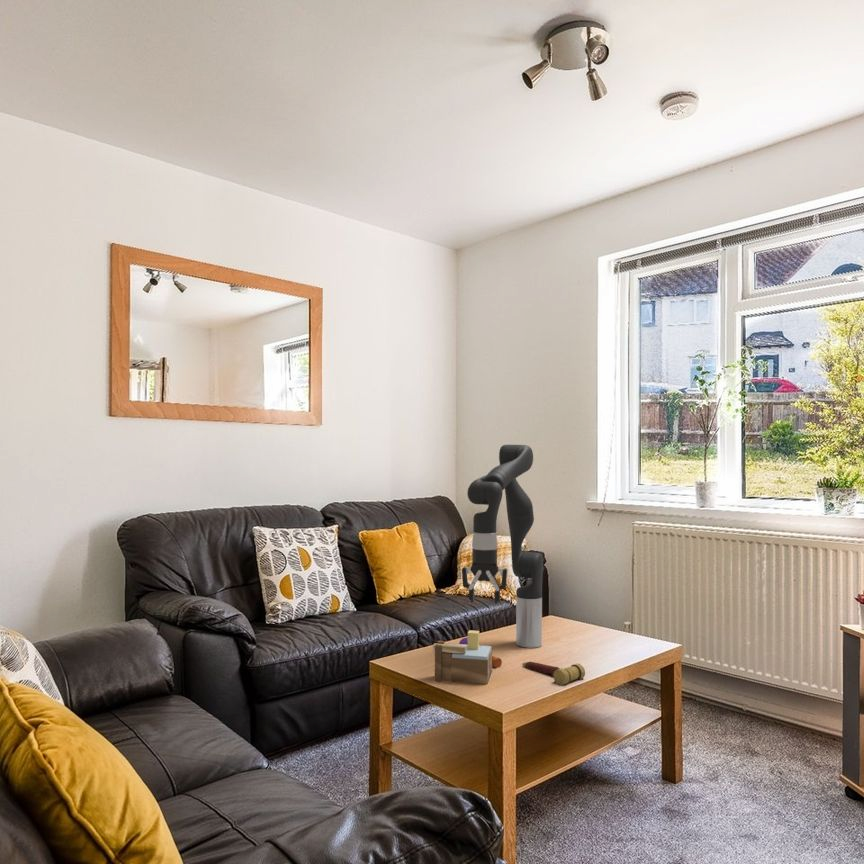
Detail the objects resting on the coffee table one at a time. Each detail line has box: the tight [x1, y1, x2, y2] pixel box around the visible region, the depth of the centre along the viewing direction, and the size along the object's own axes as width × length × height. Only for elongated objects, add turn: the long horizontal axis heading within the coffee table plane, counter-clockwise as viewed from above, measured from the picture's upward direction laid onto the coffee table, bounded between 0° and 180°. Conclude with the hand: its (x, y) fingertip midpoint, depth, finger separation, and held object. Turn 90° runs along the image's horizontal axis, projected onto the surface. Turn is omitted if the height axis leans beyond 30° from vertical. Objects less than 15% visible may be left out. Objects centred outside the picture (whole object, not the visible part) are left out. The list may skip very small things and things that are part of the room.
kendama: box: [458, 636, 503, 669], centre depth 225 cm, size 6×6×20 cm
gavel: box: [522, 661, 586, 686], centre depth 211 cm, size 21×5×10 cm
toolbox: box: [434, 640, 493, 685], centre depth 208 cm, size 12×16×11 cm
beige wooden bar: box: [432, 642, 466, 654], centre depth 205 cm, size 2×10×2 cm, turn 78°
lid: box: [452, 629, 492, 660], centre depth 208 cm, size 12×11×7 cm
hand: (484, 602), depth 203 cm, fingers open, 6 cm apart
